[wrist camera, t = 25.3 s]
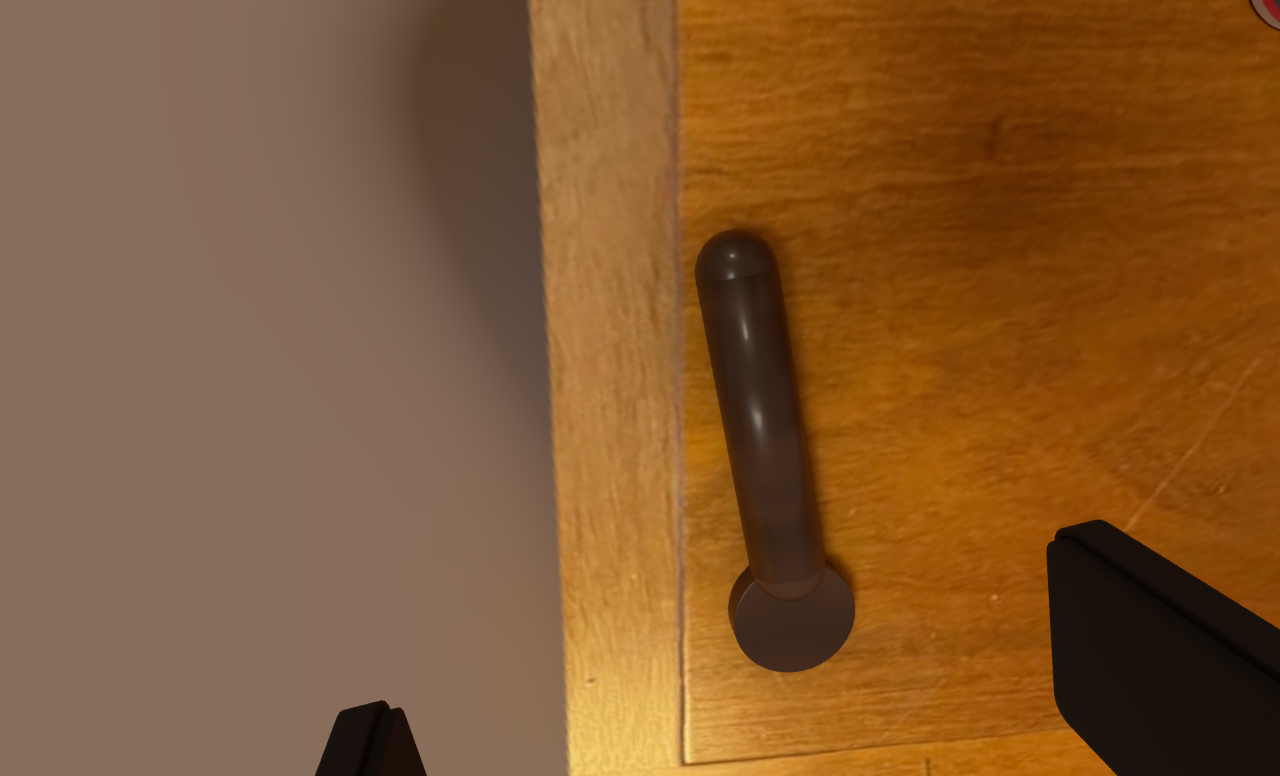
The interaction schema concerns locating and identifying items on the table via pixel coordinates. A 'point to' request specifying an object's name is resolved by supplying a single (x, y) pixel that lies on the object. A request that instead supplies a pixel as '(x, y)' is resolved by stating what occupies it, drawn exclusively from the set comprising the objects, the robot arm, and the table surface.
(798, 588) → the spoon
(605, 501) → the table surface
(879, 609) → the table surface
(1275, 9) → the pill bottle
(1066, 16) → the table surface
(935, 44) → the table surface
